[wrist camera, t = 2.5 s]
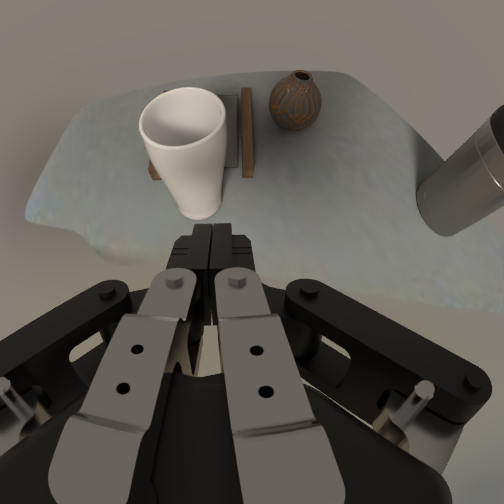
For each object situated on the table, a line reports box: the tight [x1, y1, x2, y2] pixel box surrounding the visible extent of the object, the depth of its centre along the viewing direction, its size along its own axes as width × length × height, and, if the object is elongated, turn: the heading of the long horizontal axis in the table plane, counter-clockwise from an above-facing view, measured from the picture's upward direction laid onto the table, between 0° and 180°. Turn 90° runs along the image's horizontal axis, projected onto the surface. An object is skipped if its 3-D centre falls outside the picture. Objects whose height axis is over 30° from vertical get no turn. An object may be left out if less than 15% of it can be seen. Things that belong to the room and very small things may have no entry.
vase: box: [269, 70, 321, 131], centre depth 34 cm, size 7×7×9 cm
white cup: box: [139, 87, 227, 220], centre depth 26 cm, size 7×7×15 cm
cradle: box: [148, 88, 254, 180], centre depth 35 cm, size 12×14×2 cm
